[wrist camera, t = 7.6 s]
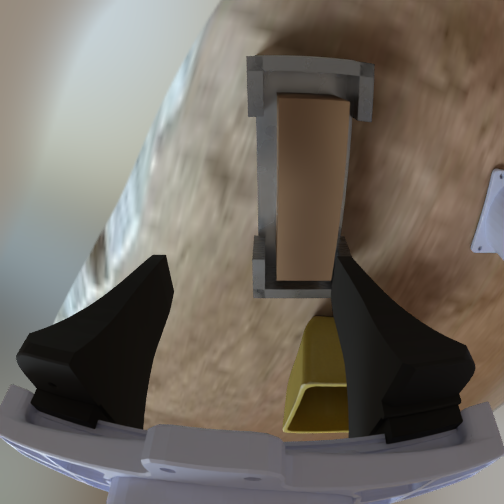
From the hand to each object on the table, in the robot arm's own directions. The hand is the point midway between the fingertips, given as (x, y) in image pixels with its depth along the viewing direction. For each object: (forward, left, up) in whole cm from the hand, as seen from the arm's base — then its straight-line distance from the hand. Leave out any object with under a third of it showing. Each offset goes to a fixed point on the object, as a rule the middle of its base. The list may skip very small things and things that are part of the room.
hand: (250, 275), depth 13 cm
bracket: (-3, -1, -10) cm, 10 cm away
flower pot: (-7, +15, -10) cm, 19 cm away
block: (-3, -1, -9) cm, 10 cm away
